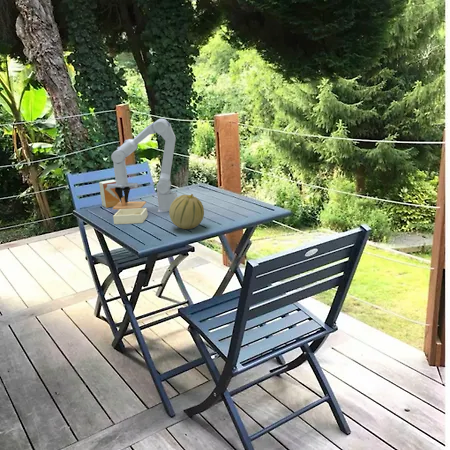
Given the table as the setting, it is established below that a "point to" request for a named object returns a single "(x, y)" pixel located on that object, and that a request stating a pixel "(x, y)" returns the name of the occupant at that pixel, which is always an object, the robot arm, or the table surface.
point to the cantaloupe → (186, 211)
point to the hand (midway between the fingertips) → (124, 202)
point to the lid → (128, 204)
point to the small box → (108, 194)
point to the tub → (130, 216)
